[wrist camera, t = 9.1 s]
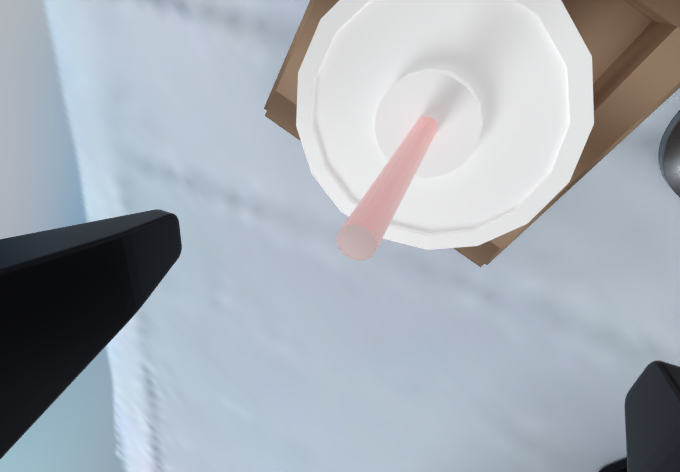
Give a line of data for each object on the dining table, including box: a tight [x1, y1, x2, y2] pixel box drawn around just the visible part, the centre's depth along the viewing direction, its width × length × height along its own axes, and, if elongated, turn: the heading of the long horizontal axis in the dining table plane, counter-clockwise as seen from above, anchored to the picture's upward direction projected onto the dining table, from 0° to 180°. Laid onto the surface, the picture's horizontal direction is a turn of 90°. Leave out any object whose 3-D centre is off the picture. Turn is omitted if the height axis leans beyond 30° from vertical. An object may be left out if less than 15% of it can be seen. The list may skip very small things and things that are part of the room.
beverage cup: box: [296, 0, 594, 261], centre depth 10 cm, size 6×6×14 cm
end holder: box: [264, 0, 680, 267], centre depth 15 cm, size 13×13×4 cm
